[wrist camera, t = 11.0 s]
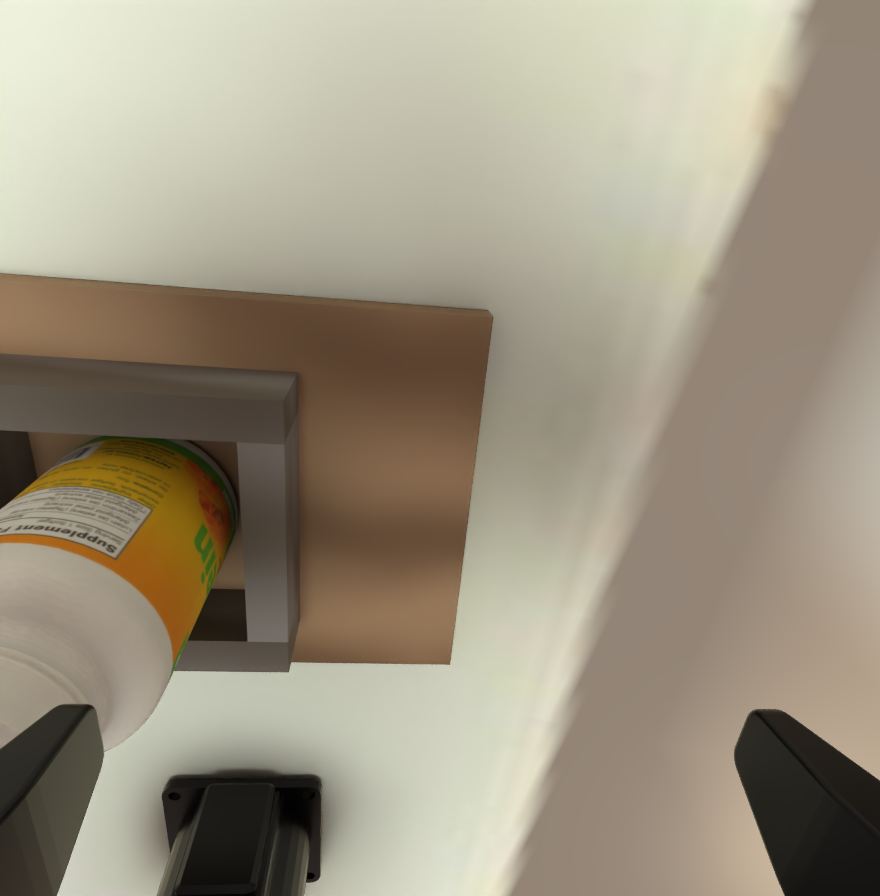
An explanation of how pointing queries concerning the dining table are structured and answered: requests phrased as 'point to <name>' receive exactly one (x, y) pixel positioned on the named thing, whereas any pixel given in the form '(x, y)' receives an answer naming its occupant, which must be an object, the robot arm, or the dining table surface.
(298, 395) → the can holder
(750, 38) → the dining table surface
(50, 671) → the supplement bottle
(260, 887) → the robot arm
